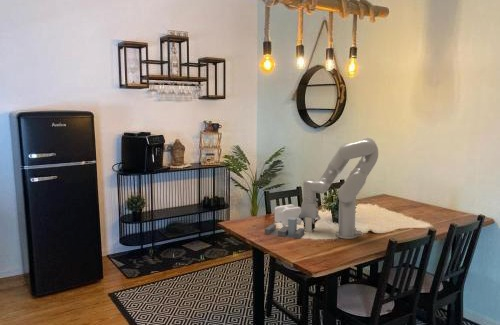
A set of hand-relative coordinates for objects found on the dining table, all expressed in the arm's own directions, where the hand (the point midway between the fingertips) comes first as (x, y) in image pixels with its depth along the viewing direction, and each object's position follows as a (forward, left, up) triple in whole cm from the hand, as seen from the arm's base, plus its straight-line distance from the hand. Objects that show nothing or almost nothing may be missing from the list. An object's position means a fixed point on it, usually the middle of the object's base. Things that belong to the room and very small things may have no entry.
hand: (309, 228), depth 239 cm
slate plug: (+7, +11, -1) cm, 13 cm away
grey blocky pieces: (+12, +11, -2) cm, 16 cm away
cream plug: (0, 0, -2) cm, 2 cm away
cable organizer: (+18, -11, -3) cm, 21 cm away
